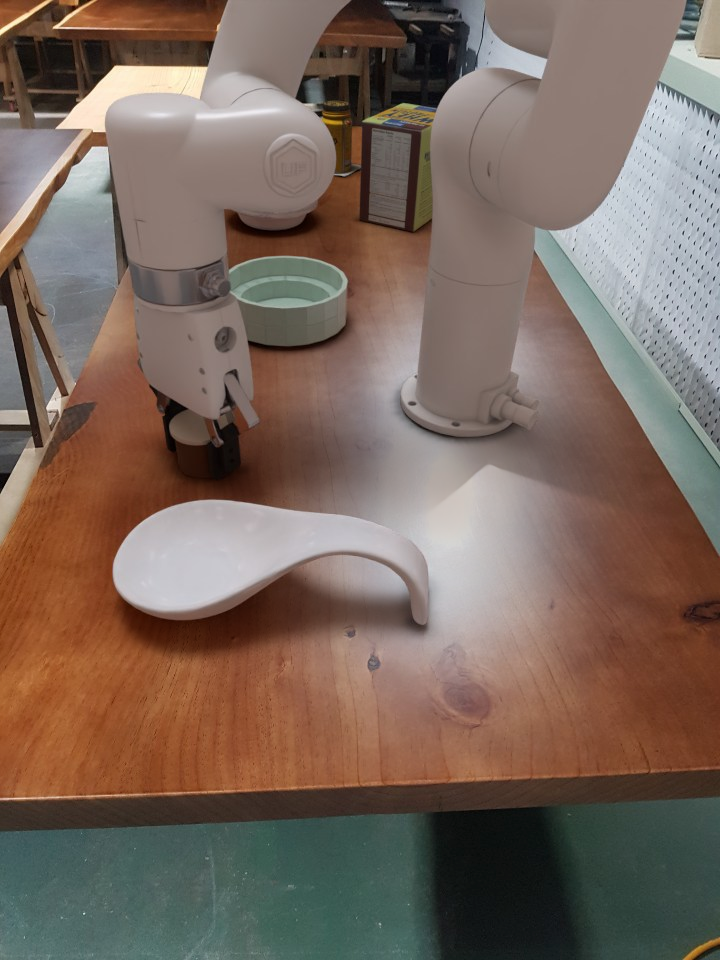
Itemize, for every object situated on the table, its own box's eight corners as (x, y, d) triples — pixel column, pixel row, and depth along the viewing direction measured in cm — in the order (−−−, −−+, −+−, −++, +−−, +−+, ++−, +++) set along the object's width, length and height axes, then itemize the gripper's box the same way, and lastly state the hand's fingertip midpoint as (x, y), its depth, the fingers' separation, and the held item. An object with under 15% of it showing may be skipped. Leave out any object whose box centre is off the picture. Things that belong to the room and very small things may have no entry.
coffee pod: (245, 461, 68) (242, 422, 65) (201, 488, 64) (195, 448, 62) (208, 439, 70) (203, 400, 67) (163, 463, 67) (156, 424, 64)
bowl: (370, 320, 91) (372, 280, 88) (286, 364, 82) (285, 320, 79) (286, 285, 99) (284, 246, 95) (200, 321, 89) (195, 280, 86)
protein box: (449, 206, 127) (460, 110, 117) (413, 233, 116) (422, 129, 106) (396, 195, 130) (402, 101, 121) (357, 220, 120) (360, 119, 110)
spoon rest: (97, 640, 51) (76, 570, 46) (147, 528, 60) (132, 461, 56) (427, 666, 50) (438, 598, 46) (427, 549, 59) (435, 482, 55)
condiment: (312, 171, 140) (311, 103, 133) (333, 161, 146) (333, 96, 139) (344, 177, 138) (346, 109, 130) (364, 167, 144) (367, 101, 136)
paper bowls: (331, 232, 115) (332, 181, 110) (239, 242, 110) (235, 189, 105) (302, 202, 126) (301, 154, 121) (216, 210, 121) (212, 160, 116)
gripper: (293, 293, 54) (297, 479, 65) (151, 233, 62) (177, 407, 73) (216, 326, 49) (235, 519, 61) (75, 256, 57) (115, 439, 69)
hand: (203, 456), depth 67 cm, fingers closed on coffee pod, 5 cm apart
